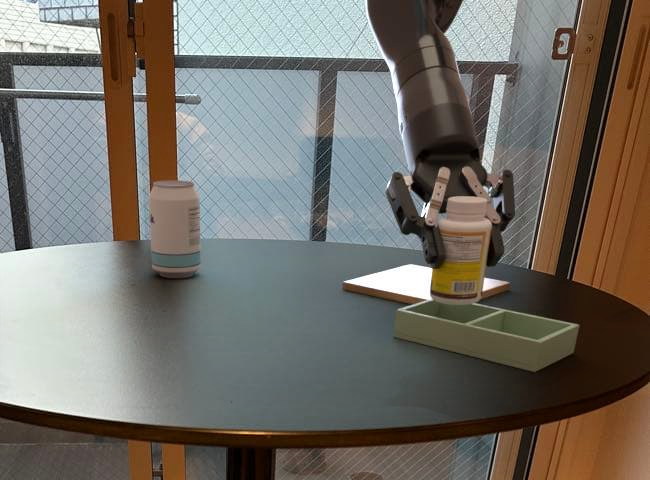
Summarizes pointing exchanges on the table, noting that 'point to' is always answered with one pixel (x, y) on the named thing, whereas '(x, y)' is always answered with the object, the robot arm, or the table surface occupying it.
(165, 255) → the beverage can
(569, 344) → the divided tray
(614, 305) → the table surface
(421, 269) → the mat
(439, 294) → the supplement bottle
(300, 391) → the table surface
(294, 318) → the table surface
